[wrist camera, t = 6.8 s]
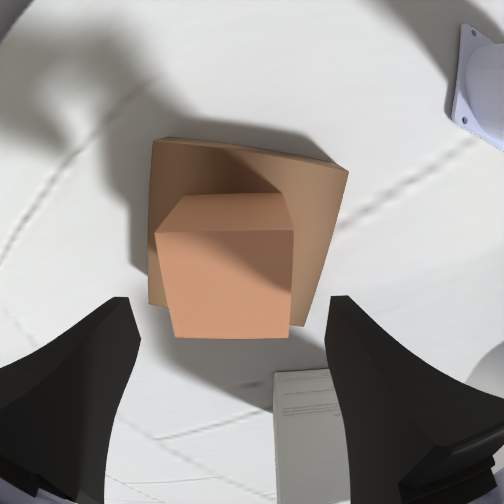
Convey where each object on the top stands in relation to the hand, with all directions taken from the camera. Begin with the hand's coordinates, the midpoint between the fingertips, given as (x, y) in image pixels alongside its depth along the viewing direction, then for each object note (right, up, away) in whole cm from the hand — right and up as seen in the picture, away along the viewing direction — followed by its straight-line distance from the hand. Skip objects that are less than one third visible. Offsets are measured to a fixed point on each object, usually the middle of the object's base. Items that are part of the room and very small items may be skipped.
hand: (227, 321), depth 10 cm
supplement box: (+6, -11, +15) cm, 20 cm away
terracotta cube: (0, +3, +6) cm, 7 cm away
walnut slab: (0, +4, +9) cm, 10 cm away
